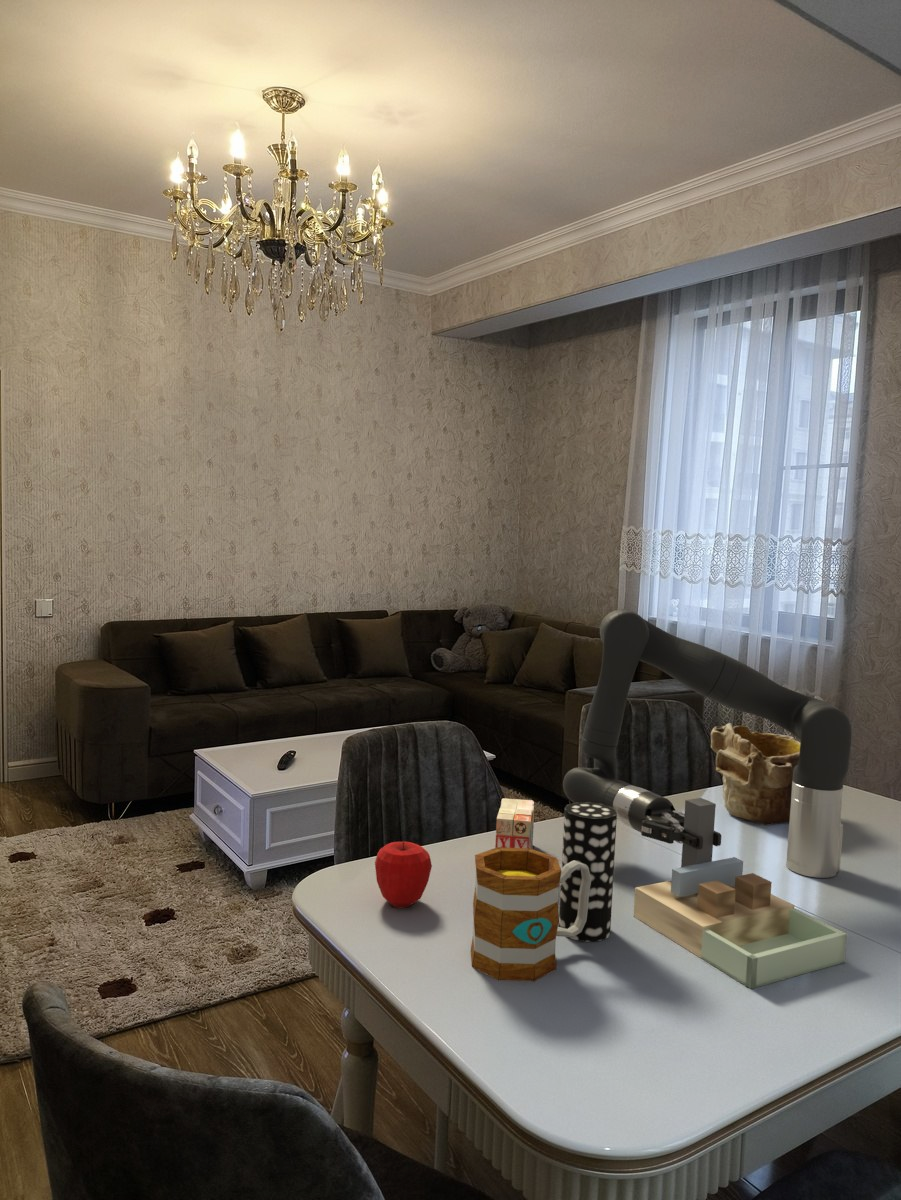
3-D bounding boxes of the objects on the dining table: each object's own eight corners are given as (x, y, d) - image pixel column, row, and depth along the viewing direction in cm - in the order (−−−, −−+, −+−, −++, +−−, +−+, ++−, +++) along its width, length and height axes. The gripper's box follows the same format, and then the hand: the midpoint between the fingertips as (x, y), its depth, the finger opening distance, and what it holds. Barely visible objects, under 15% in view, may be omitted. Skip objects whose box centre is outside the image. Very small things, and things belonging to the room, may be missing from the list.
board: (720, 897, 160) (722, 870, 160) (792, 934, 146) (794, 905, 146) (633, 916, 151) (635, 887, 150) (700, 958, 137) (703, 926, 136)
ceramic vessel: (864, 795, 199) (810, 710, 194) (784, 864, 196) (726, 780, 191) (802, 766, 221) (752, 689, 216) (729, 828, 218) (676, 752, 213)
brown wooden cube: (715, 904, 145) (717, 880, 144) (734, 914, 141) (735, 889, 141) (697, 908, 143) (698, 884, 143) (715, 918, 139) (716, 893, 139)
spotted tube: (598, 947, 139) (605, 822, 137) (550, 932, 143) (556, 811, 142) (617, 927, 146) (624, 808, 144) (571, 914, 150) (577, 799, 149)
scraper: (718, 872, 156) (723, 794, 155) (741, 883, 152) (747, 803, 150) (656, 884, 150) (661, 803, 149) (679, 897, 145) (684, 813, 144)
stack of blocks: (502, 842, 184) (505, 784, 183) (533, 845, 183) (535, 786, 182) (493, 882, 163) (496, 817, 162) (527, 886, 162) (530, 820, 161)
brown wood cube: (751, 896, 149) (752, 873, 148) (769, 905, 145) (771, 881, 145) (733, 900, 147) (735, 876, 146) (752, 909, 143) (753, 885, 143)
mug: (492, 989, 125) (497, 886, 124) (453, 946, 137) (457, 852, 136) (610, 966, 133) (615, 869, 132) (563, 928, 145) (568, 838, 144)
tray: (792, 934, 146) (794, 908, 146) (844, 962, 137) (846, 933, 137) (700, 958, 137) (702, 929, 136) (750, 989, 128) (752, 958, 127)
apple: (440, 908, 151) (442, 846, 150) (390, 919, 146) (392, 855, 145) (412, 887, 159) (414, 828, 158) (364, 897, 154) (366, 836, 153)
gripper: (613, 794, 160) (679, 825, 145) (673, 786, 167) (743, 815, 151) (611, 835, 161) (676, 870, 145) (671, 825, 167) (740, 857, 152)
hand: (710, 841), depth 149 cm, fingers closed on scraper, 3 cm apart
